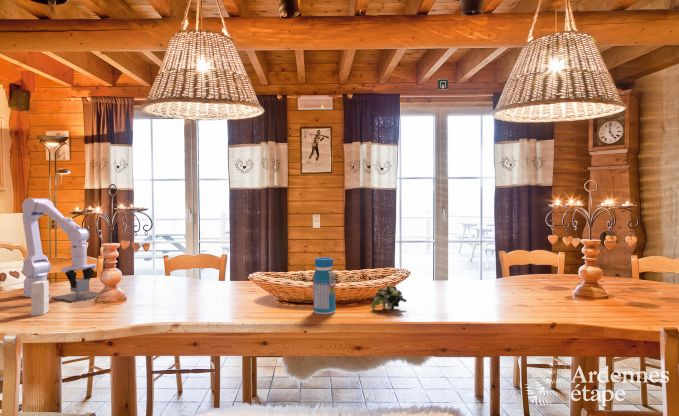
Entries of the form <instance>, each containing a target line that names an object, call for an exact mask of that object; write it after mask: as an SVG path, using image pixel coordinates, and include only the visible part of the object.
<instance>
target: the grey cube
mask: <svg viewBox="0 0 679 416" xmlns="http://www.w3.org/2000/svg"><path fill="white" fill-rule="evenodd" d="M83 291H90V281H89V279H84V277H82V278H76V286H75V288H71V287H70V293H71V292H72V293H75V292H77V293H78V292H83Z"/></svg>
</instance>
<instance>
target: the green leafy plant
mask: <svg viewBox="0 0 679 416" xmlns="http://www.w3.org/2000/svg"><path fill="white" fill-rule="evenodd" d="M375 294H376V295H375V296H374V297H373V302H371V304H370V308H371V309H372V310H375V309H376V307H377V306H379V305H382V308H383V309H384V310H386V306H387V311H386V313H387V314H388V313H389V312H390V309H394V308H395V307H396V308H399V307H400V304H399V303H400V302H404V303H407V299H406V298H404V297H403V296H404V295H403V292H402V291H401V290H398V289H397V286H395V285H394V286H393V285H391V284H389V285H386V287H385V288H378V287H377V292H375ZM386 304H387V305H386Z"/></svg>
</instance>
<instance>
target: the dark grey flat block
mask: <svg viewBox="0 0 679 416" xmlns="http://www.w3.org/2000/svg"><path fill="white" fill-rule="evenodd" d="M98 293H100V292H98V291H91V290H89V291H83V292H78V293H77V292H72V293H71V292H70V293H67V294H66V293H65V294H61V295H56V296H51V297H50V299H51V300H54V299H56V300H55V301H60V300H61V301H60V302H66V301H67V302H68V303H72V302H73V303H77V301H78V302H82V300H83V301H86V300H87V299H88V300H93V299H96V298H95V297H96V296H97V294H98ZM92 298H93V299H92ZM88 300H87V301H88Z"/></svg>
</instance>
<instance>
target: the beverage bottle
mask: <svg viewBox="0 0 679 416" xmlns="http://www.w3.org/2000/svg"><path fill="white" fill-rule="evenodd" d="M314 266H315V268H316V269H315V271H314V273H313V276H312V279H313V282H312V289H313V290H312V291H313V292H312V293H313V312H314V313H315V314H316V315H317V314H318V315H332V314H334V313H336V280H335V278H336V275H335V272H334V270H333V269H332V268H333V267H334V260H333V257H323V256H322V257H316V258H314Z"/></svg>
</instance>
